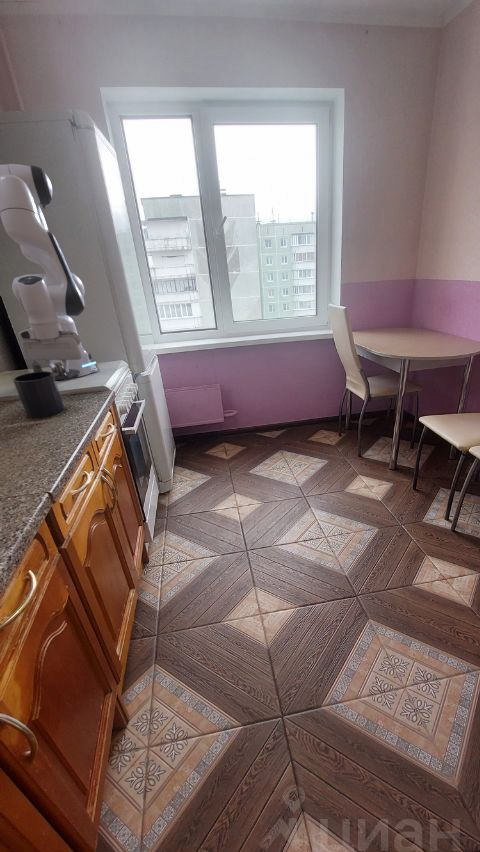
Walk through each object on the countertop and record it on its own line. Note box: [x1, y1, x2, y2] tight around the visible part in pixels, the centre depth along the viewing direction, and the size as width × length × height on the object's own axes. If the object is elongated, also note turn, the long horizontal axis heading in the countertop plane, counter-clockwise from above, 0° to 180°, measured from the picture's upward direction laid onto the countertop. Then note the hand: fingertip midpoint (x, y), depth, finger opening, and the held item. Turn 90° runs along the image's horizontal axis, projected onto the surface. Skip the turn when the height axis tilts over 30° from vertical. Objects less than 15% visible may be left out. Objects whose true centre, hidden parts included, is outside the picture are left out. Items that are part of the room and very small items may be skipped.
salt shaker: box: [31, 360, 43, 372], centre depth 145 cm, size 6×6×12 cm
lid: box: [51, 362, 80, 382], centre depth 135 cm, size 12×12×5 cm
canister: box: [12, 370, 66, 419], centre depth 124 cm, size 11×11×12 cm
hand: (60, 372), depth 135 cm, fingers closed on lid, 2 cm apart
